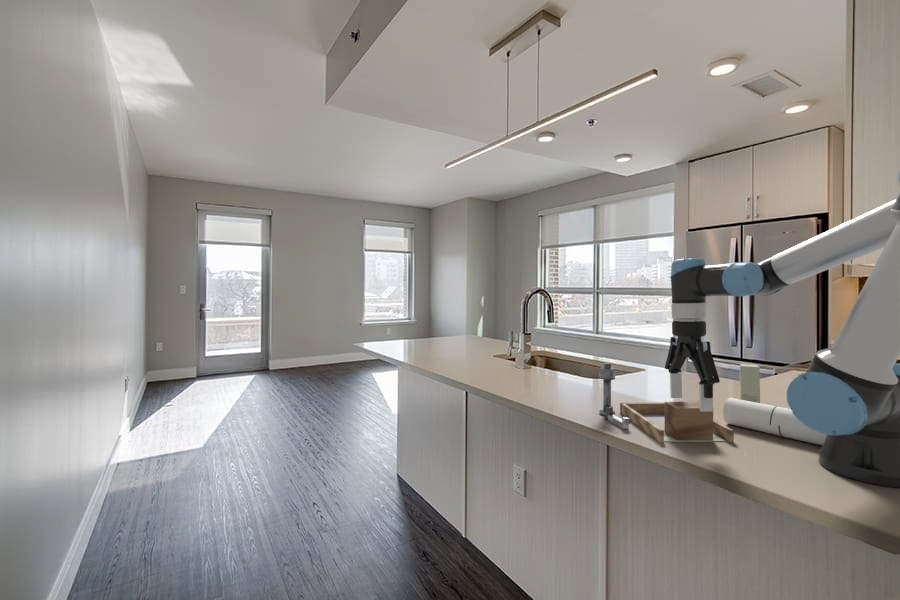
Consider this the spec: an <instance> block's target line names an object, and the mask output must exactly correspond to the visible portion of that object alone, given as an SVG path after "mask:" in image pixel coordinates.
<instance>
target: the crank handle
mask: <svg viewBox="0 0 900 600" xmlns="http://www.w3.org/2000/svg"><path fill="white" fill-rule="evenodd" d="M613 411H614V407H613V406H612V405H611V406H606V416H605V420H606V421H608V422H610V423H612V424H613V425H615V426H617V427H619V428H620V429H622V430H629V428H630V424H631V420H630V418H628V417H625V416H623V417H622V418H620V417H618V416H616V414H615V415H613Z"/></svg>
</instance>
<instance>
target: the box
mask: <svg viewBox="0 0 900 600" xmlns="http://www.w3.org/2000/svg"><path fill="white" fill-rule="evenodd" d="M760 373H761V371H760V365H758V364H748V363H747V364H746V363H740V364H739V387H740V388H739V389H740V390H739V393H740V394H739V396H740V400H745V401H750V402H756V403H761V384H760V383H761V381H760V380H761V379H760V378H761V377H760Z"/></svg>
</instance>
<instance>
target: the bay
mask: <svg viewBox="0 0 900 600" xmlns="http://www.w3.org/2000/svg"><path fill="white" fill-rule="evenodd" d="M619 405H620V406H619V412H620V414H621V415H623V417H628V418H630V422H632V423H633V424H635V425H636V426H637V427H639V428H640V429H641V430H642V431H644V432H645V433H646V434H648V435H649V436H650V437H652V438H654V439H655V440H656V441H657V442H658V443H660V444H661V443H666V442H667V443H668V442H669V443H675V442H677V443H679V442H680V443H683V442H684V443H685V442H686V443H687V442H688V443H691V442H692V443H694V442H695V443H698V442H703V443H704V442H706V443H707V442H710V443H714V442H716V443H717V442H718V443H719V442H721V443H722V442H724V443H725V442H727V443H735V441H734V439H735V430H734V429H732V428H730V427H728V426H727V425H725V424H723V423H721V422H718V421H717V420H715V419H713V440H675V439H674V438H672V437H671V436H669V435H668V434H667V433H665V432H664V429H663V428H661V427H660V426H658V425H657V424H655V423H653V422H652V421H651V420H649V419H648V418H647V417H645V416H643V415H642V414H646V415H648V414H651V415H652V414H658V415H659V414H665V402H619Z"/></svg>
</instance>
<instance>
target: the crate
mask: <svg viewBox="0 0 900 600" xmlns="http://www.w3.org/2000/svg"><path fill="white" fill-rule="evenodd" d="M664 403H665V413H664V429H663V430H664V432H665V433H667V434H668V435H669V436H671V437H672V438H674V439H675V440H713V434H714V433H713V420H714V410H713V411H709V412H701V411H700V401H664Z"/></svg>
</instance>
